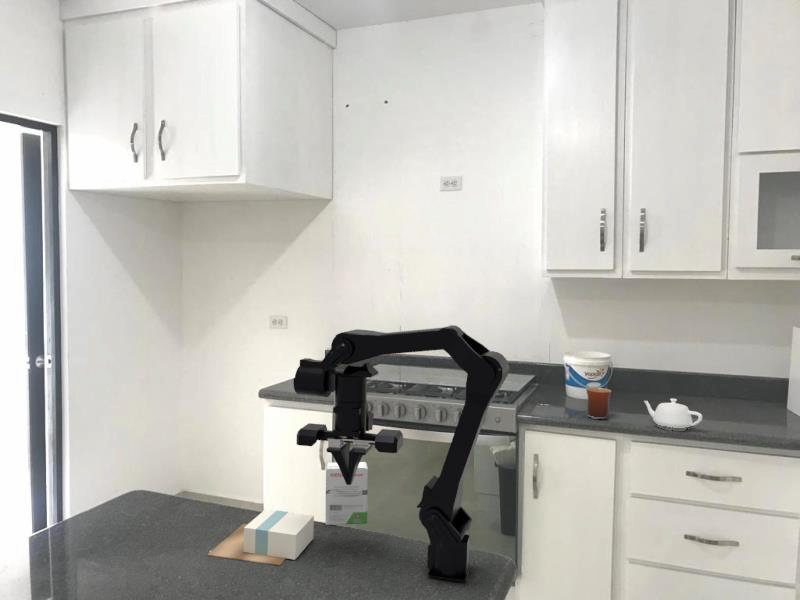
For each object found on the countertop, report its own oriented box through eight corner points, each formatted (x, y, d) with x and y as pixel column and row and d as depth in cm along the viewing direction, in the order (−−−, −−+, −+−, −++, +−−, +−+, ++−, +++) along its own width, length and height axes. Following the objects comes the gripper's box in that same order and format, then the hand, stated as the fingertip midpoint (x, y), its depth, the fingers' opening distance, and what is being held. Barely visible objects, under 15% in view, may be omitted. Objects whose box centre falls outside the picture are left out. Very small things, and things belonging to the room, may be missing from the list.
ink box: (366, 515, 133) (367, 460, 132) (367, 525, 128) (368, 468, 127) (325, 515, 132) (326, 460, 131) (324, 525, 127) (325, 468, 127)
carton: (314, 515, 120) (265, 508, 123) (295, 534, 111) (243, 527, 114) (313, 538, 121) (265, 531, 123) (294, 560, 112) (243, 552, 114)
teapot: (634, 425, 218) (635, 396, 217) (649, 419, 226) (651, 391, 226) (693, 437, 203) (695, 406, 203) (708, 431, 212) (709, 401, 211)
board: (309, 533, 123) (309, 532, 123) (279, 565, 110) (279, 564, 110) (243, 524, 126) (243, 523, 126) (207, 555, 113) (207, 554, 113)
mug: (614, 421, 222) (615, 392, 222) (590, 421, 222) (592, 392, 221) (600, 413, 234) (601, 385, 234) (577, 413, 233) (578, 385, 233)
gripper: (409, 394, 120) (408, 474, 121) (317, 388, 124) (316, 466, 124) (397, 406, 109) (395, 495, 110) (295, 399, 113) (294, 485, 114)
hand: (349, 484), depth 115 cm, fingers closed
